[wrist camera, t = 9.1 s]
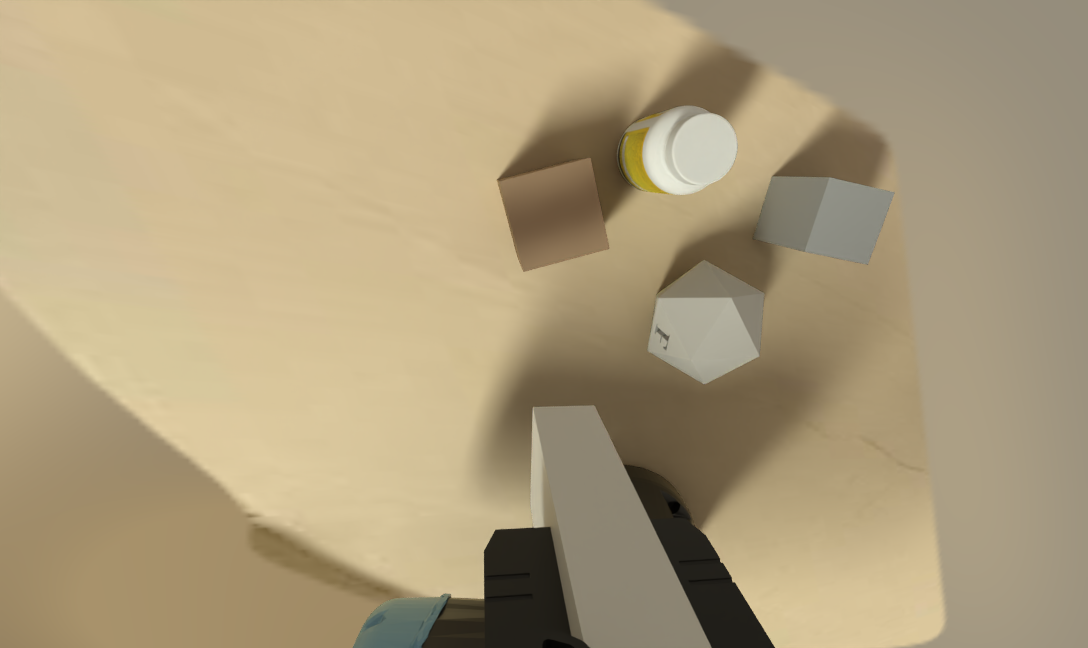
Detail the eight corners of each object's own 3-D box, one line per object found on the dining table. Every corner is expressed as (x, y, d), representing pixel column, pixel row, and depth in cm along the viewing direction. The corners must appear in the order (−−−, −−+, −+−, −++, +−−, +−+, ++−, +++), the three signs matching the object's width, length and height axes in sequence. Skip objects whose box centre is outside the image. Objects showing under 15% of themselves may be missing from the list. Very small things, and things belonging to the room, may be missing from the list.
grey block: (806, 249, 42) (867, 264, 35) (752, 238, 41) (804, 251, 35) (827, 189, 41) (894, 192, 34) (771, 176, 40) (829, 177, 33)
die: (673, 236, 41) (639, 295, 34) (785, 261, 38) (773, 331, 31) (656, 316, 46) (624, 383, 39) (755, 344, 43) (739, 421, 36)
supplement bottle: (646, 206, 39) (697, 217, 30) (600, 153, 38) (639, 147, 29) (698, 155, 39) (767, 150, 30) (654, 100, 37) (711, 76, 28)
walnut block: (591, 237, 40) (609, 248, 34) (517, 257, 40) (523, 271, 34) (574, 159, 38) (590, 157, 32) (496, 179, 38) (499, 181, 32)
